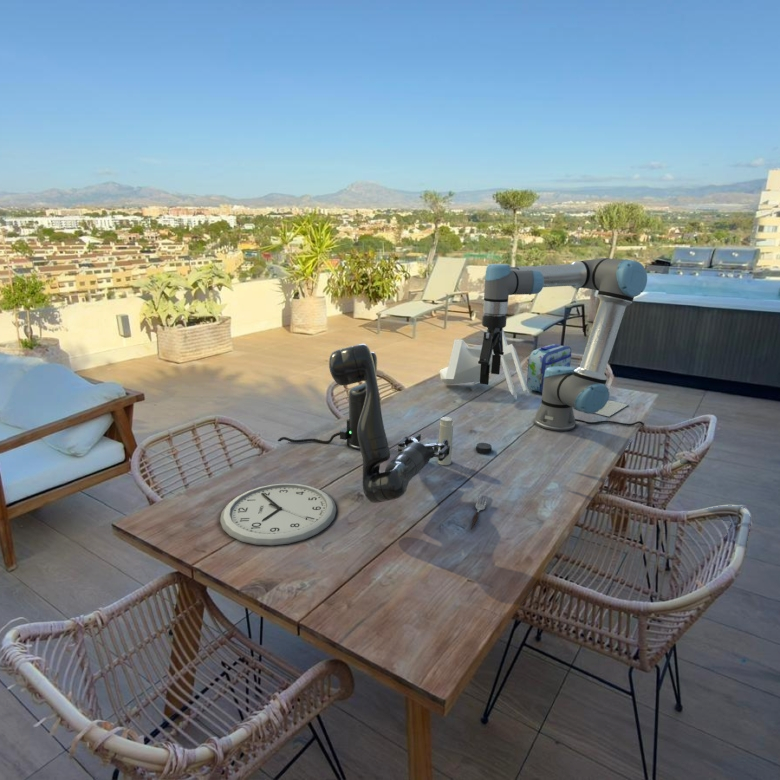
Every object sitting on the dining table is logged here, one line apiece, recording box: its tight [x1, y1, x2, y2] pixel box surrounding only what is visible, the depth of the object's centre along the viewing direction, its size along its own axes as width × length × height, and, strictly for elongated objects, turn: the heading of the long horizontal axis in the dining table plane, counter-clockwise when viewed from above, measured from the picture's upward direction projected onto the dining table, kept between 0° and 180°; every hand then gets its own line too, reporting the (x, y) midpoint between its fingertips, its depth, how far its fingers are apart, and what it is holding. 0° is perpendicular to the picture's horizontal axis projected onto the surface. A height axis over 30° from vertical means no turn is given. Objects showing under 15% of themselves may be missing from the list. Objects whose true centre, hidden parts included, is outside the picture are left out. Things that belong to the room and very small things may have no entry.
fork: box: [470, 495, 488, 530], centre depth 138 cm, size 3×16×2 cm, turn 160°
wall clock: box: [219, 483, 337, 546], centre depth 138 cm, size 30×2×30 cm
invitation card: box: [595, 399, 629, 418], centre depth 226 cm, size 21×1×15 cm
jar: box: [437, 416, 454, 466], centre depth 168 cm, size 4×4×15 cm
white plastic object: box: [438, 328, 531, 400], centre depth 245 cm, size 37×45×31 cm
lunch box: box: [526, 343, 572, 394], centre depth 247 cm, size 26×11×21 cm, turn 134°
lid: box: [475, 442, 493, 455], centre depth 179 cm, size 5×5×2 cm
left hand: (432, 439), depth 157 cm, fingers open, 8 cm apart
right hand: (489, 378), depth 172 cm, fingers open, 13 cm apart
